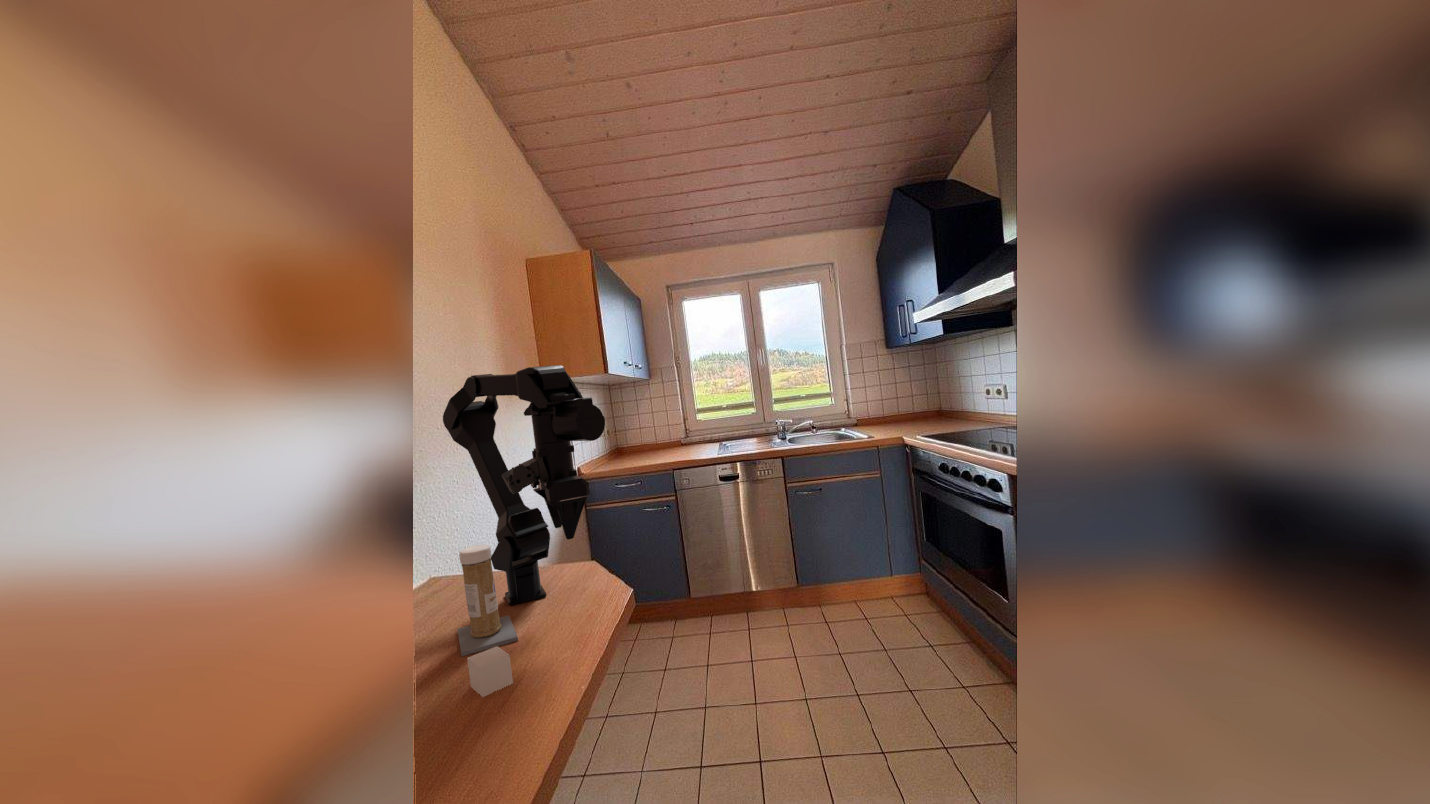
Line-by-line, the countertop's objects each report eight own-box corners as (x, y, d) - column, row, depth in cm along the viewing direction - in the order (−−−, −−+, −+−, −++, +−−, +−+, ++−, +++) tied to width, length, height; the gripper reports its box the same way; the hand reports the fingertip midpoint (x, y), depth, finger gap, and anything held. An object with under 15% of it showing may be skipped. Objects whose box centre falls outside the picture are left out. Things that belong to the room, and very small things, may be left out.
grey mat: (457, 632, 98) (457, 628, 98) (509, 618, 101) (508, 615, 101) (461, 656, 89) (461, 652, 89) (518, 640, 92) (517, 636, 92)
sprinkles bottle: (505, 631, 94) (493, 546, 94) (474, 641, 92) (462, 554, 91) (497, 623, 98) (486, 541, 98) (467, 632, 96) (456, 549, 95)
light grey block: (471, 687, 79) (467, 657, 79) (500, 674, 82) (497, 646, 82) (482, 697, 76) (478, 667, 76) (513, 684, 79) (509, 654, 79)
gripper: (495, 444, 106) (506, 532, 107) (509, 453, 89) (522, 557, 90) (559, 435, 111) (569, 519, 112) (584, 442, 94) (596, 541, 95)
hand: (563, 533), depth 102 cm, fingers open, 9 cm apart
